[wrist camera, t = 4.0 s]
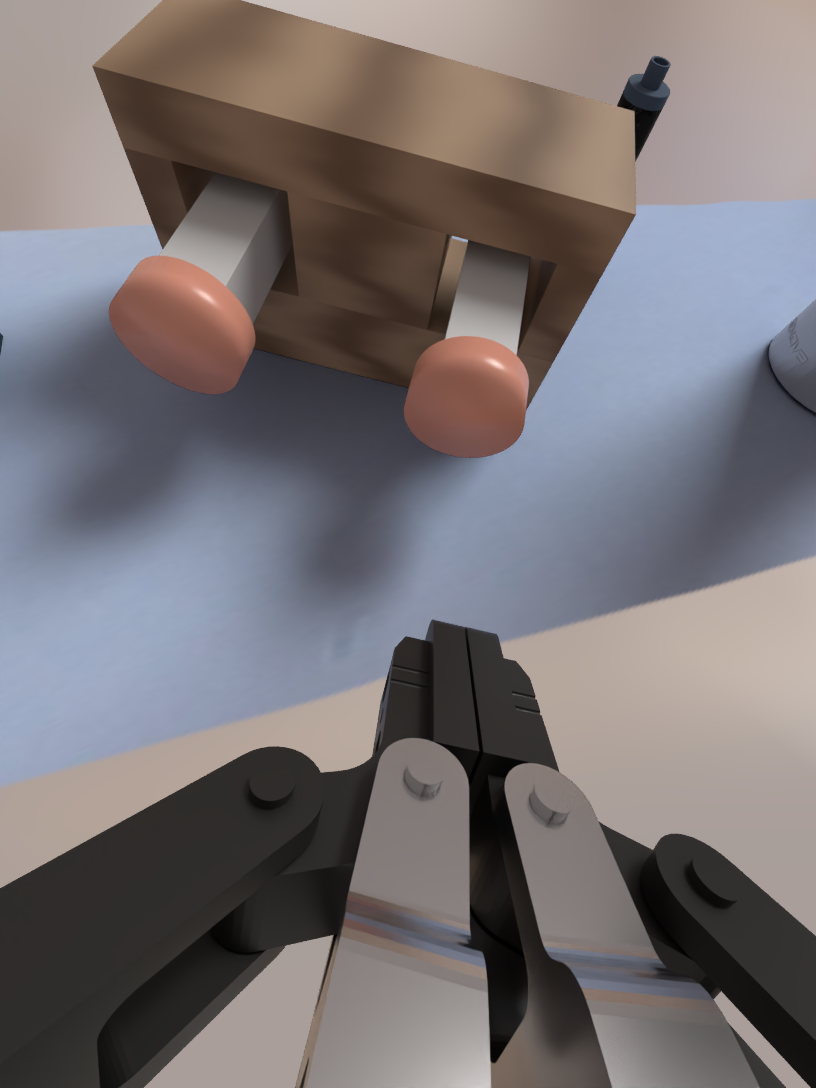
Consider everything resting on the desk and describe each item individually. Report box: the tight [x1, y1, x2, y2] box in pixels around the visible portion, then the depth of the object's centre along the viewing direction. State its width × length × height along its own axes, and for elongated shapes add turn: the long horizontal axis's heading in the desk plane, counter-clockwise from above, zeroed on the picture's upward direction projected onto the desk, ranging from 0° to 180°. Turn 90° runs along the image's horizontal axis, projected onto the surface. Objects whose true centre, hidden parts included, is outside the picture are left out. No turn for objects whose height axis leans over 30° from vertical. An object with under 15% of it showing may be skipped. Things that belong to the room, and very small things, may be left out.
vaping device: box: [530, 56, 670, 259], centre depth 29 cm, size 3×5×12 cm, turn 34°
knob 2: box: [404, 240, 530, 458], centre depth 21 cm, size 5×10×5 cm, turn 168°
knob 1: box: [109, 172, 293, 394], centre depth 20 cm, size 5×10×5 cm, turn 169°
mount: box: [93, 0, 636, 410], centre depth 24 cm, size 21×8×12 cm, turn 78°
